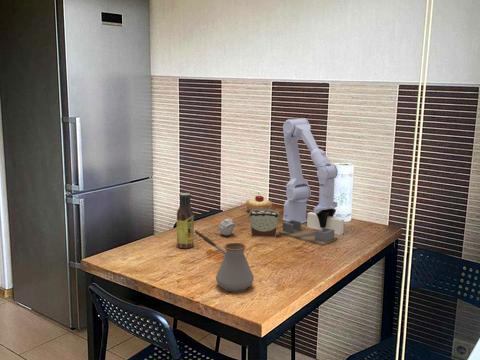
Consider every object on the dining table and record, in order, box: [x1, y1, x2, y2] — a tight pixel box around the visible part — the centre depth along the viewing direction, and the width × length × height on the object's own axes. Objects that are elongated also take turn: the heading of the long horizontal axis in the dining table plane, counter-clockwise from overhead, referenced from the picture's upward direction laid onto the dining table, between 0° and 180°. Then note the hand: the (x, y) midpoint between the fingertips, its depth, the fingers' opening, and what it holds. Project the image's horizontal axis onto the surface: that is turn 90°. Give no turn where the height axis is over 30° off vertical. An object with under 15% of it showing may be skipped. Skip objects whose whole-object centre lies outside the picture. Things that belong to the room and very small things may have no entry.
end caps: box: [282, 220, 335, 242], centre depth 209 cm, size 20×6×4 cm, turn 48°
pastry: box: [245, 192, 273, 213], centre depth 244 cm, size 12×12×9 cm
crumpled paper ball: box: [218, 218, 236, 236], centre depth 209 cm, size 6×7×7 cm
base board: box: [278, 228, 338, 246], centre depth 209 cm, size 21×10×1 cm, turn 48°
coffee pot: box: [192, 230, 255, 293], centre depth 162 cm, size 21×12×15 cm, turn 56°
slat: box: [306, 211, 345, 236], centre depth 217 cm, size 16×2×6 cm, turn 47°
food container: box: [247, 208, 281, 239], centre depth 210 cm, size 12×6×10 cm, turn 84°
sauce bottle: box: [176, 192, 195, 249], centre depth 195 cm, size 7×6×20 cm
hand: (324, 226), depth 218 cm, fingers closed on slat, 2 cm apart
